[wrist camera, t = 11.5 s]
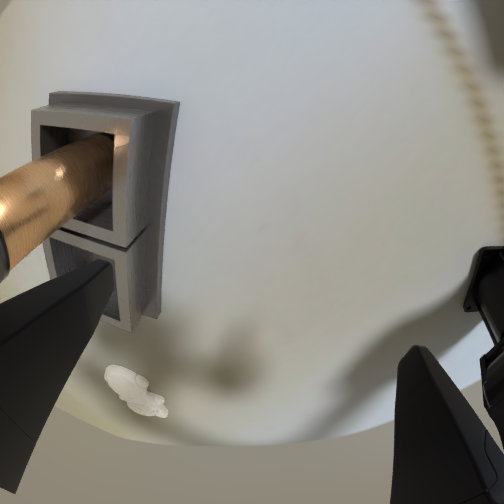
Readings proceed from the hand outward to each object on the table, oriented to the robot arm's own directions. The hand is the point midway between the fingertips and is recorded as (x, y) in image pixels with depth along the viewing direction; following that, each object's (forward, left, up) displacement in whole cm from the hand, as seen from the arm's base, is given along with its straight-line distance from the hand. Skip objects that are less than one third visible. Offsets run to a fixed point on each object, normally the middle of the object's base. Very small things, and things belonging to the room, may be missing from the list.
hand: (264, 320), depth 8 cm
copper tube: (+2, +13, -12) cm, 18 cm away
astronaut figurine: (-29, +23, -14) cm, 40 cm away
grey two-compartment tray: (-2, +15, -13) cm, 20 cm away
